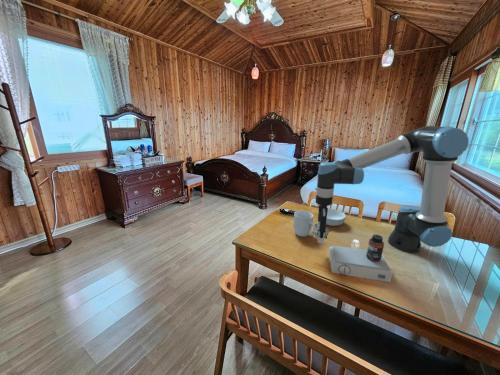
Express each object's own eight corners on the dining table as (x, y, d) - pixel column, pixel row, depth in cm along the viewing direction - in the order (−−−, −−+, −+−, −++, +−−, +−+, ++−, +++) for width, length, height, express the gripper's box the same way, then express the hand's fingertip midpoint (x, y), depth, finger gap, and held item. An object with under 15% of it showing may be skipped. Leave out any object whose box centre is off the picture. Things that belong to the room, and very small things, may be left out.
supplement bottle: (375, 254, 103) (380, 233, 100) (383, 262, 97) (388, 240, 94) (363, 254, 103) (367, 233, 99) (370, 262, 97) (375, 240, 94)
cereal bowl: (314, 217, 154) (316, 208, 152) (338, 217, 154) (339, 208, 152) (322, 229, 138) (323, 219, 136) (348, 229, 138) (350, 219, 136)
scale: (380, 262, 107) (382, 251, 105) (391, 283, 93) (394, 271, 91) (328, 254, 112) (330, 244, 110) (331, 273, 98) (333, 262, 97)
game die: (323, 246, 109) (332, 238, 101) (307, 239, 110) (315, 231, 102) (325, 231, 115) (335, 222, 107) (310, 225, 116) (318, 216, 108)
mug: (320, 238, 127) (323, 217, 123) (307, 244, 121) (310, 222, 117) (300, 228, 139) (302, 209, 135) (288, 232, 133) (290, 213, 129)
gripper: (315, 188, 113) (311, 227, 120) (317, 202, 94) (312, 248, 101) (330, 189, 112) (325, 229, 118) (335, 204, 92) (329, 250, 99)
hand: (319, 238), depth 110 cm, fingers closed on game die, 8 cm apart
